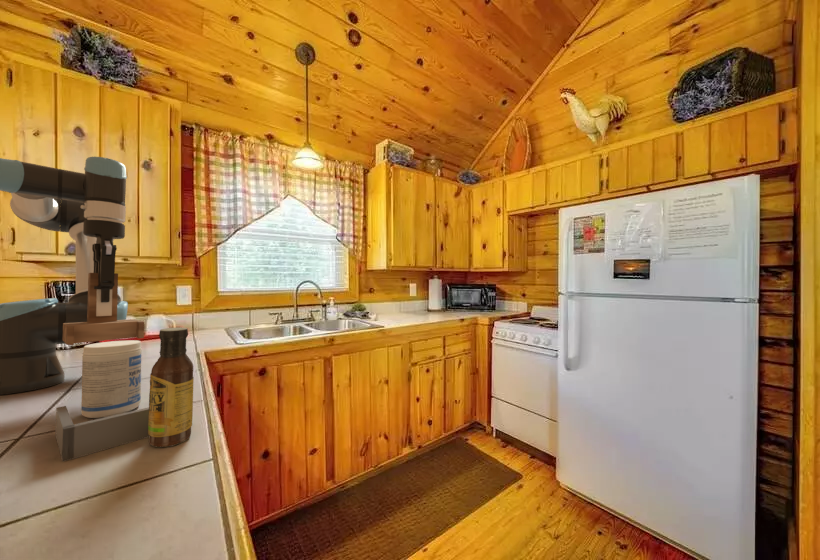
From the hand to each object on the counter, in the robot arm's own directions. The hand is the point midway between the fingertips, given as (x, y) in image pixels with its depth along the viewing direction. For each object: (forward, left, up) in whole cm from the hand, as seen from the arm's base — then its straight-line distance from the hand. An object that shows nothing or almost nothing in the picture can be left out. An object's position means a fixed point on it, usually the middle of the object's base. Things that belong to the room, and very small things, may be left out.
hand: (102, 315), depth 79 cm
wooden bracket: (+4, 0, -6) cm, 7 cm away
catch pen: (+29, 0, -20) cm, 35 cm away
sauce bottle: (+41, +4, -20) cm, 46 cm away
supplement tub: (+15, 0, -20) cm, 25 cm away
